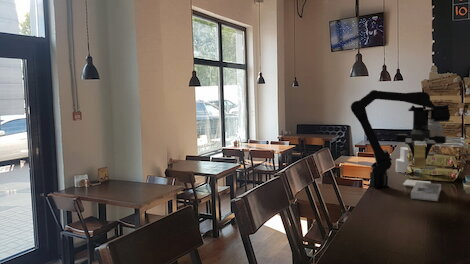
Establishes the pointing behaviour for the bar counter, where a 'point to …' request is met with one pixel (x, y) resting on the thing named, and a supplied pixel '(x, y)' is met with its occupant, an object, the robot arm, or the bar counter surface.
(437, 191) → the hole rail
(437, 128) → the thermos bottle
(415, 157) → the square peg
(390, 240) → the bar counter surface
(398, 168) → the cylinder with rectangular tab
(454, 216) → the bar counter surface
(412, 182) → the pad
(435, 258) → the bar counter surface
